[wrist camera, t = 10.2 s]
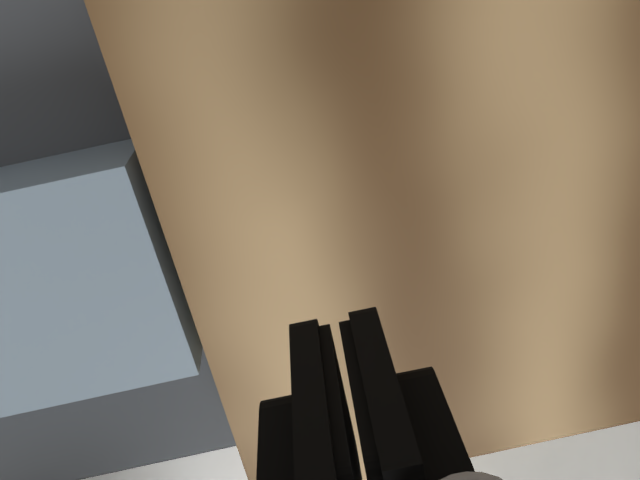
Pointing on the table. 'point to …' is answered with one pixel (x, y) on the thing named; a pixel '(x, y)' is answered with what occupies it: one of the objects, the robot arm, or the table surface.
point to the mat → (57, 138)
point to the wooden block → (400, 194)
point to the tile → (86, 283)
